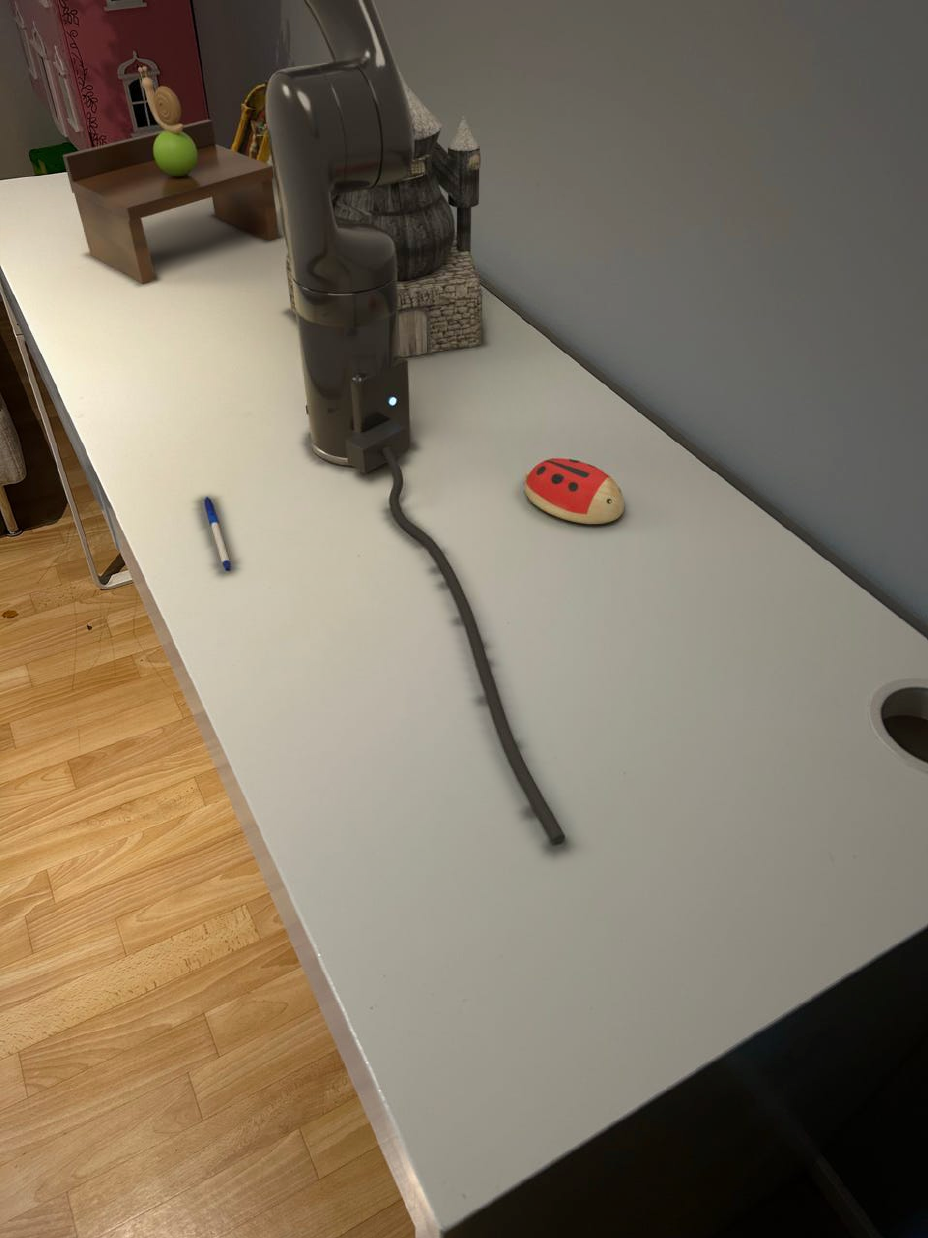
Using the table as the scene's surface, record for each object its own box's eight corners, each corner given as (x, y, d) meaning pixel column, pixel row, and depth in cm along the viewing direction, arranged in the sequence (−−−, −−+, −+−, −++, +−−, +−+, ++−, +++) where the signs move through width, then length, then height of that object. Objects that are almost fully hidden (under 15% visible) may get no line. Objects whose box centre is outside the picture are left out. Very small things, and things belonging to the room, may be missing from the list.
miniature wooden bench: (281, 238, 131) (269, 141, 123) (145, 284, 120) (121, 181, 111) (223, 211, 138) (207, 118, 130) (88, 253, 127) (62, 154, 118)
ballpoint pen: (201, 504, 86) (199, 495, 85) (211, 502, 86) (209, 493, 86) (225, 573, 79) (223, 564, 78) (235, 570, 79) (234, 561, 79)
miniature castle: (317, 370, 104) (283, 64, 83) (289, 308, 115) (254, 25, 95) (507, 342, 109) (519, 48, 89) (463, 285, 120) (465, 12, 100)
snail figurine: (177, 163, 125) (158, 62, 117) (209, 174, 122) (192, 70, 114) (144, 174, 122) (122, 70, 114) (176, 185, 119) (156, 79, 111)
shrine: (283, 176, 150) (270, 70, 140) (294, 193, 144) (282, 84, 134) (210, 184, 147) (192, 76, 137) (219, 201, 141) (201, 91, 131)
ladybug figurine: (606, 539, 82) (611, 506, 80) (507, 505, 86) (509, 473, 83) (635, 500, 87) (640, 468, 84) (539, 469, 90) (542, 438, 88)
